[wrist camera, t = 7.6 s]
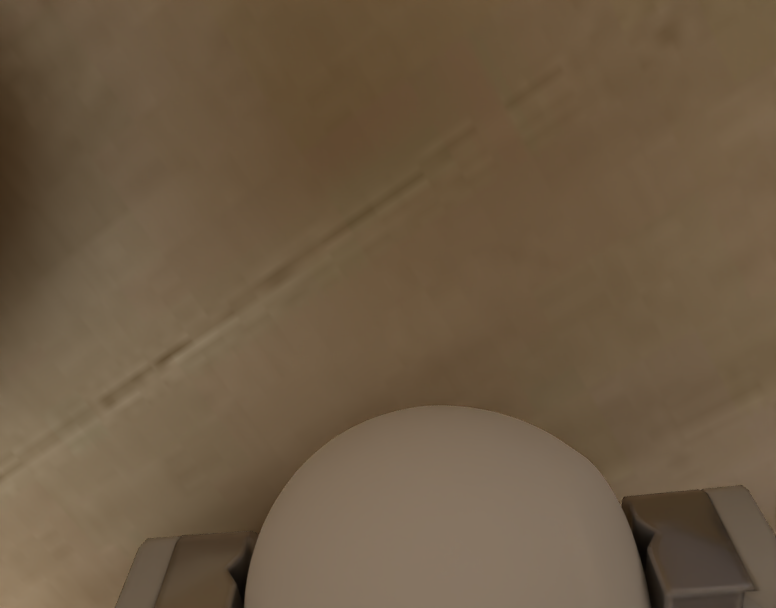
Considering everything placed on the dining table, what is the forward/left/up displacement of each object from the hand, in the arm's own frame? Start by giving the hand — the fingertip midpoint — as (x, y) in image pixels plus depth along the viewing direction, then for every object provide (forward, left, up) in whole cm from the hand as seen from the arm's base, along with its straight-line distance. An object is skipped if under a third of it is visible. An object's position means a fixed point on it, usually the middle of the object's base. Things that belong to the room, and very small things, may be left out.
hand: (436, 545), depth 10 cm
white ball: (0, 0, -2) cm, 2 cm away
